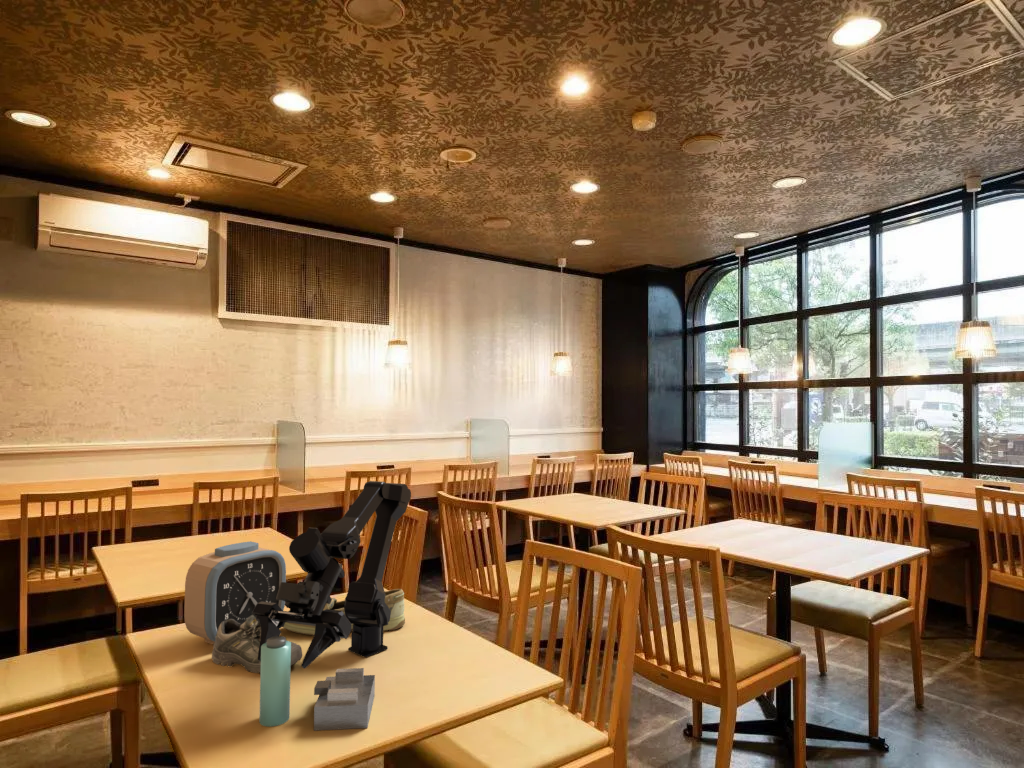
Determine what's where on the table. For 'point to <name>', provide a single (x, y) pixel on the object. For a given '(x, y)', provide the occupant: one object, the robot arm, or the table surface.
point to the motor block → (344, 700)
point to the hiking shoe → (243, 645)
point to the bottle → (275, 681)
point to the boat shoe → (397, 620)
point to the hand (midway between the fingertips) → (281, 663)
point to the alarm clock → (230, 586)
